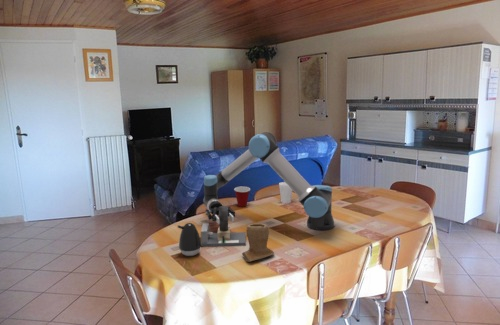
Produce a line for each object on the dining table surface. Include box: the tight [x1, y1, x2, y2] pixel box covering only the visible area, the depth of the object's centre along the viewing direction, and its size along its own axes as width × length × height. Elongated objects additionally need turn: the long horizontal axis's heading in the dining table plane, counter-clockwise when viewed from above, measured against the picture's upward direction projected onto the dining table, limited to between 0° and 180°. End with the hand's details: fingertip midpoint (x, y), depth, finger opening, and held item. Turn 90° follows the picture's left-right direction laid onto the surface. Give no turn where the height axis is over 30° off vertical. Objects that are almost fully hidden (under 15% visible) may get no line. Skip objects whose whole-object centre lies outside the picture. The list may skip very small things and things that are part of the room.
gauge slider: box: [217, 205, 231, 243], centre depth 188 cm, size 6×12×16 cm, turn 1°
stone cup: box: [241, 223, 275, 263], centre depth 171 cm, size 15×12×15 cm
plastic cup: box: [233, 186, 251, 208], centre depth 249 cm, size 11×11×12 cm
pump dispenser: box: [177, 222, 201, 257], centre depth 175 cm, size 10×10×15 cm
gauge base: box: [200, 222, 247, 248], centre depth 191 cm, size 22×14×8 cm, turn 91°
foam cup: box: [278, 181, 293, 204], centre depth 256 cm, size 10×9×13 cm
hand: (225, 220), depth 185 cm, fingers open, 7 cm apart
